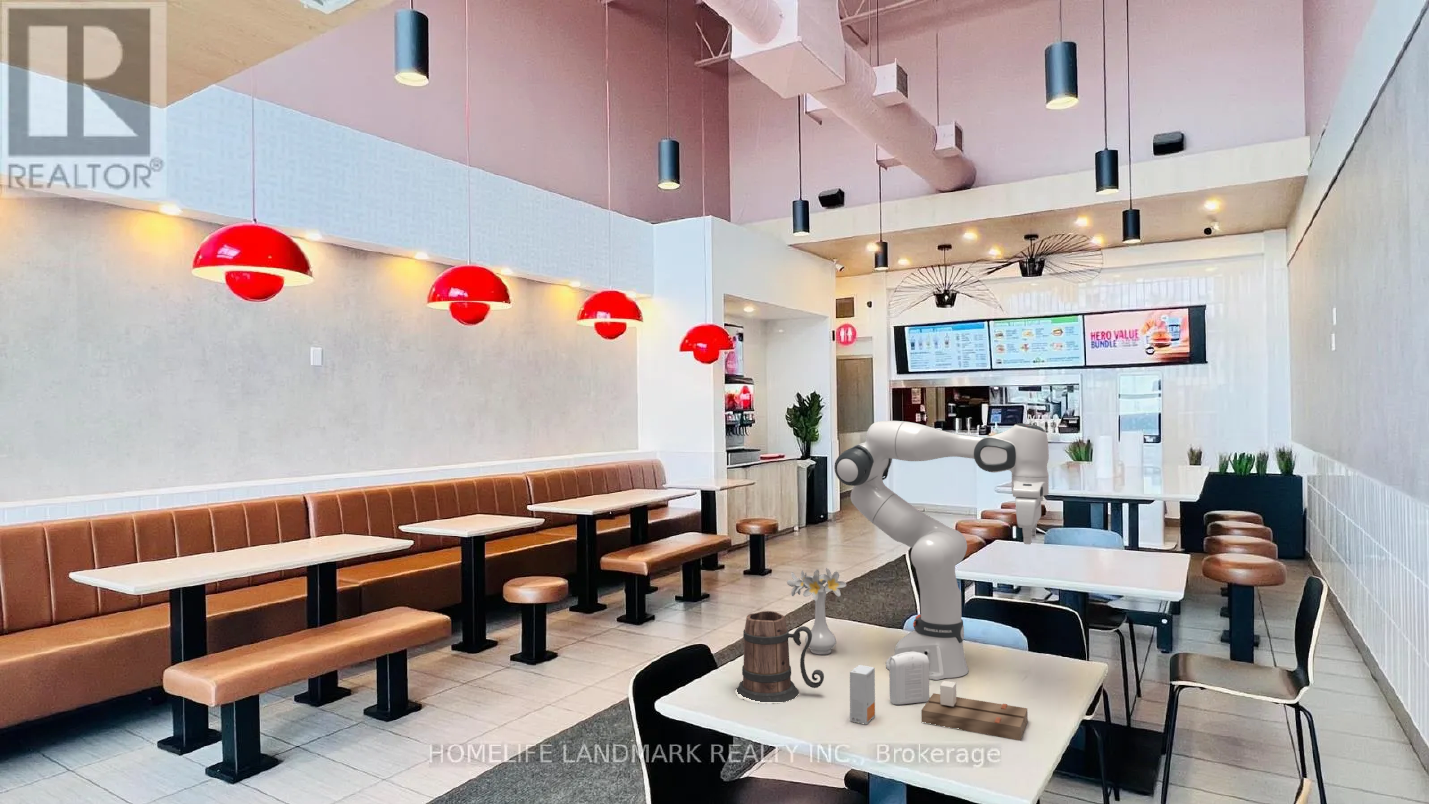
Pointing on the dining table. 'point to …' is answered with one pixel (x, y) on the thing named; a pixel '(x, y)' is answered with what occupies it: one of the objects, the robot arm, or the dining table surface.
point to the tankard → (771, 659)
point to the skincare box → (862, 694)
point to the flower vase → (818, 606)
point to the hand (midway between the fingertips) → (1029, 540)
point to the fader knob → (948, 693)
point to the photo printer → (909, 678)
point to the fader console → (977, 717)
